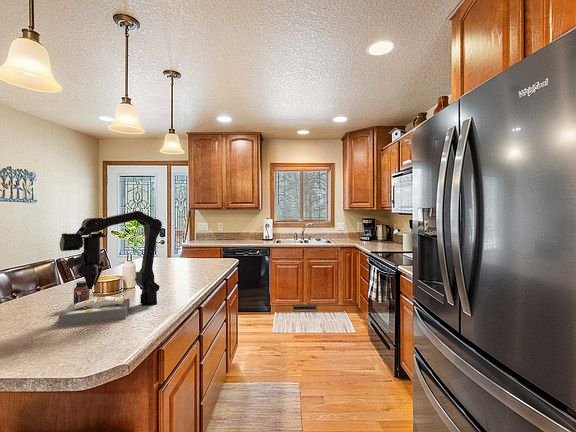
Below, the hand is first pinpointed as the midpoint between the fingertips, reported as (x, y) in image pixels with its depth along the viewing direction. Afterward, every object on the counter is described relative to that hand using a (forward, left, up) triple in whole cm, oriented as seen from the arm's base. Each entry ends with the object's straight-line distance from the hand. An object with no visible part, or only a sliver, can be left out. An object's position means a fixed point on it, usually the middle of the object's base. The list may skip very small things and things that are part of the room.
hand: (92, 287), depth 125 cm
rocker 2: (-8, 0, -6) cm, 10 cm away
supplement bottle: (+7, -17, -12) cm, 22 cm away
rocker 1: (+2, 0, -6) cm, 7 cm away
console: (-2, 0, -12) cm, 12 cm away
